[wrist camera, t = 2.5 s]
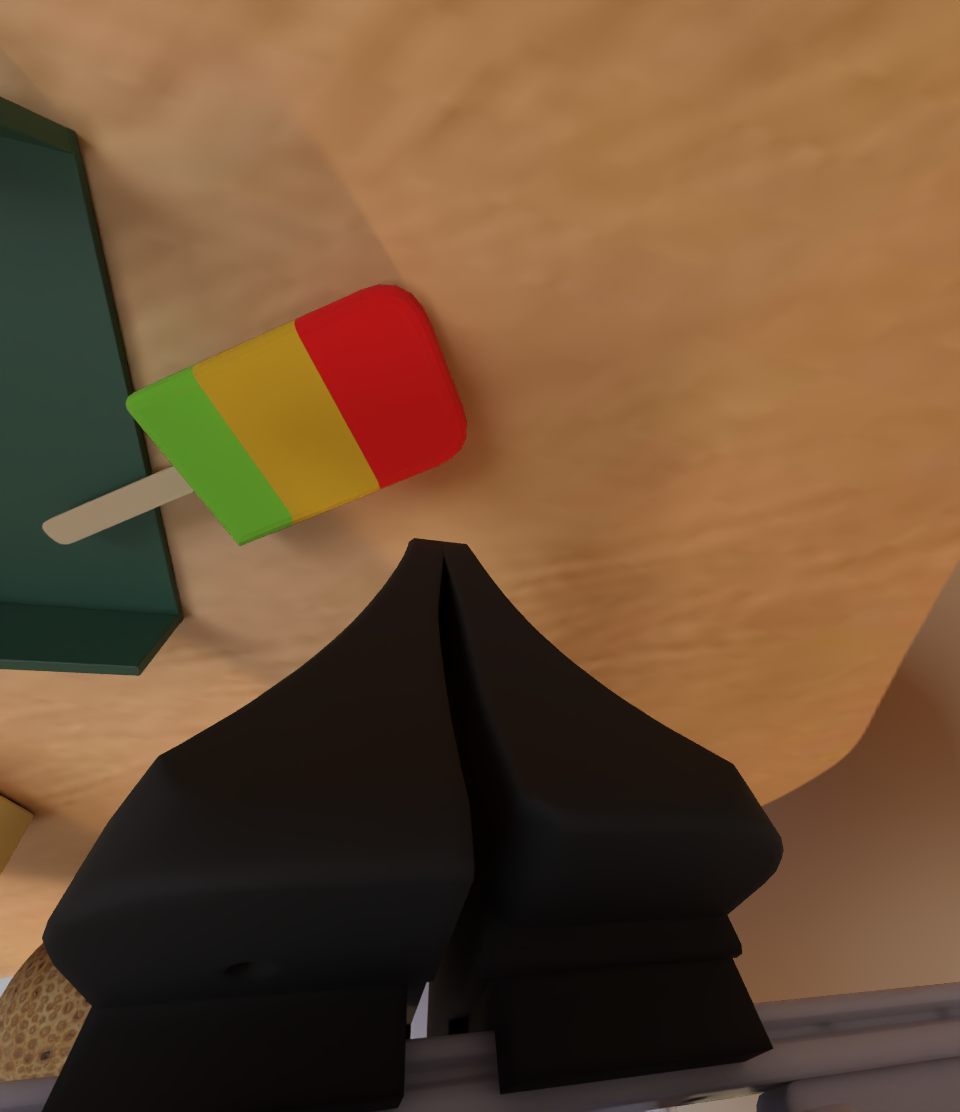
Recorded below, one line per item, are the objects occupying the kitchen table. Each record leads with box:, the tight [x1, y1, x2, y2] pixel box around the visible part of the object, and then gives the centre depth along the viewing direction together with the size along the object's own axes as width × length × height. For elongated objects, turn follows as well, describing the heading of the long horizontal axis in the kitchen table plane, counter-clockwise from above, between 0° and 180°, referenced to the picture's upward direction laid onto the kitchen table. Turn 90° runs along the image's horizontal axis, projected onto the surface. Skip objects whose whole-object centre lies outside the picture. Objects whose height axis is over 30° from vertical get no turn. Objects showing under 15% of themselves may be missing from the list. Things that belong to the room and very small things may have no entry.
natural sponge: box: [0, 943, 92, 1082], centre depth 26 cm, size 9×9×10 cm
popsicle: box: [42, 285, 467, 546], centre depth 14 cm, size 6×15×2 cm, turn 110°
